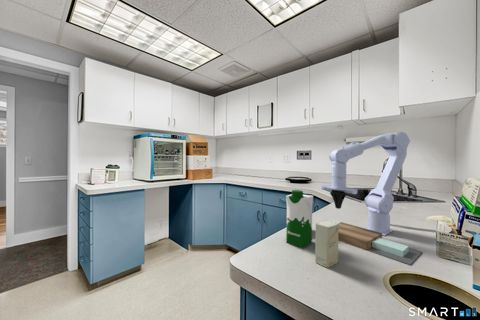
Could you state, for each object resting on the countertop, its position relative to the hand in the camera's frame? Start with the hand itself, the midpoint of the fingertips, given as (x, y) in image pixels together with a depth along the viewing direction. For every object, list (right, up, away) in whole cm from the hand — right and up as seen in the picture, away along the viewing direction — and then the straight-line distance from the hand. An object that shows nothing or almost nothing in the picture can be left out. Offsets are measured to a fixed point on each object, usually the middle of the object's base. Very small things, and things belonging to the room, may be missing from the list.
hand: (338, 208), depth 88 cm
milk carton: (-20, -11, -11) cm, 26 cm away
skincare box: (-16, -11, -25) cm, 32 cm away
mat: (+11, -11, -18) cm, 24 cm away
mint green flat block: (+10, -11, -17) cm, 22 cm away
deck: (+3, -11, -7) cm, 13 cm away
